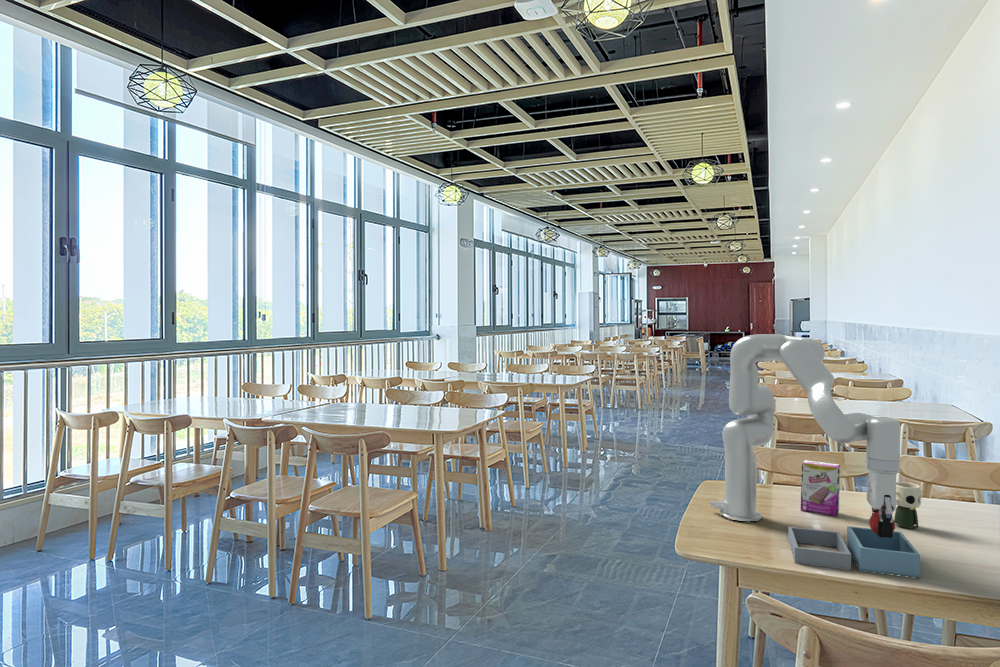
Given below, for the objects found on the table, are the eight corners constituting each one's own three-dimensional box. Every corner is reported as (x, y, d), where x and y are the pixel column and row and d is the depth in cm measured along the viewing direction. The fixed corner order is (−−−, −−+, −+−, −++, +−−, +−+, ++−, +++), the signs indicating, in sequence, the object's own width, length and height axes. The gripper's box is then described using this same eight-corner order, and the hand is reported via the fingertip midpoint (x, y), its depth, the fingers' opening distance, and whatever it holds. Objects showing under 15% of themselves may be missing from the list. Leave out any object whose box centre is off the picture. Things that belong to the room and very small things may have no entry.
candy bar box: (800, 511, 202) (801, 462, 201) (802, 507, 206) (802, 459, 205) (838, 517, 196) (839, 466, 195) (839, 513, 200) (840, 463, 199)
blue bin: (859, 571, 154) (860, 547, 154) (846, 547, 170) (847, 526, 170) (919, 578, 150) (920, 554, 150) (900, 553, 166) (901, 531, 166)
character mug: (901, 531, 182) (902, 489, 182) (881, 523, 189) (882, 482, 189) (930, 529, 185) (931, 486, 184) (910, 521, 192) (911, 480, 191)
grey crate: (794, 562, 159) (795, 547, 159) (788, 540, 175) (788, 526, 175) (850, 569, 155) (851, 554, 155) (838, 546, 171) (839, 532, 171)
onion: (898, 542, 156) (899, 512, 156) (874, 540, 157) (874, 510, 157) (889, 534, 162) (889, 505, 162) (865, 533, 163) (866, 503, 163)
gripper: (859, 456, 169) (858, 520, 169) (874, 471, 152) (873, 542, 153) (890, 458, 166) (889, 523, 167) (909, 474, 150) (907, 546, 150)
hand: (881, 531), depth 160 cm, fingers closed on onion, 5 cm apart
